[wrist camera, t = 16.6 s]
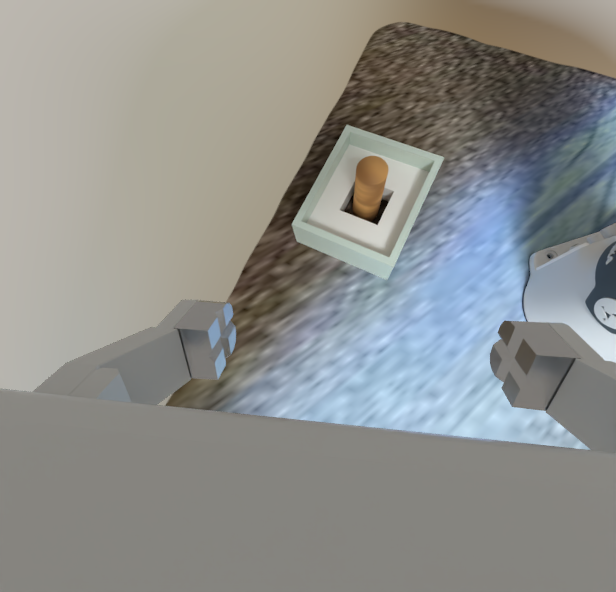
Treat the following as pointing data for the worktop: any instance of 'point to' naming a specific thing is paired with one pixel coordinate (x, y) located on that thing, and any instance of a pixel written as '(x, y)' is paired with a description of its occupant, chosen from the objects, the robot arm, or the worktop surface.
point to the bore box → (340, 187)
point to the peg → (369, 187)
